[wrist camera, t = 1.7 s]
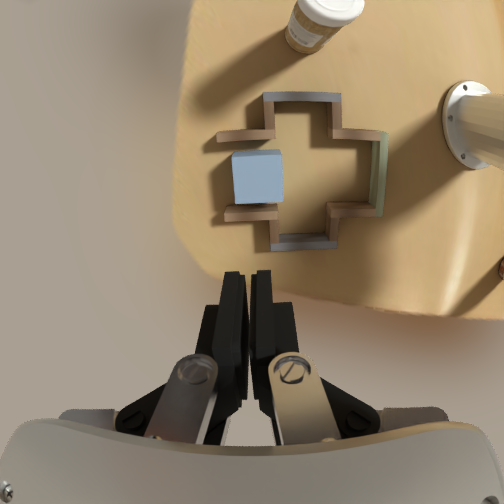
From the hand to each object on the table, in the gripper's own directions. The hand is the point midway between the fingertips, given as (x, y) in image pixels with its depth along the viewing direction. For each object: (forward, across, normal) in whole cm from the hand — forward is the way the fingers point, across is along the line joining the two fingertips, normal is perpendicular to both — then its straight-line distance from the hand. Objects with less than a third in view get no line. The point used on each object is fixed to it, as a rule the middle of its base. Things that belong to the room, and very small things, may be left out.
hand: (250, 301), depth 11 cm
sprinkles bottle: (+23, -6, -16) cm, 29 cm away
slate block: (+23, 0, 0) cm, 23 cm away
